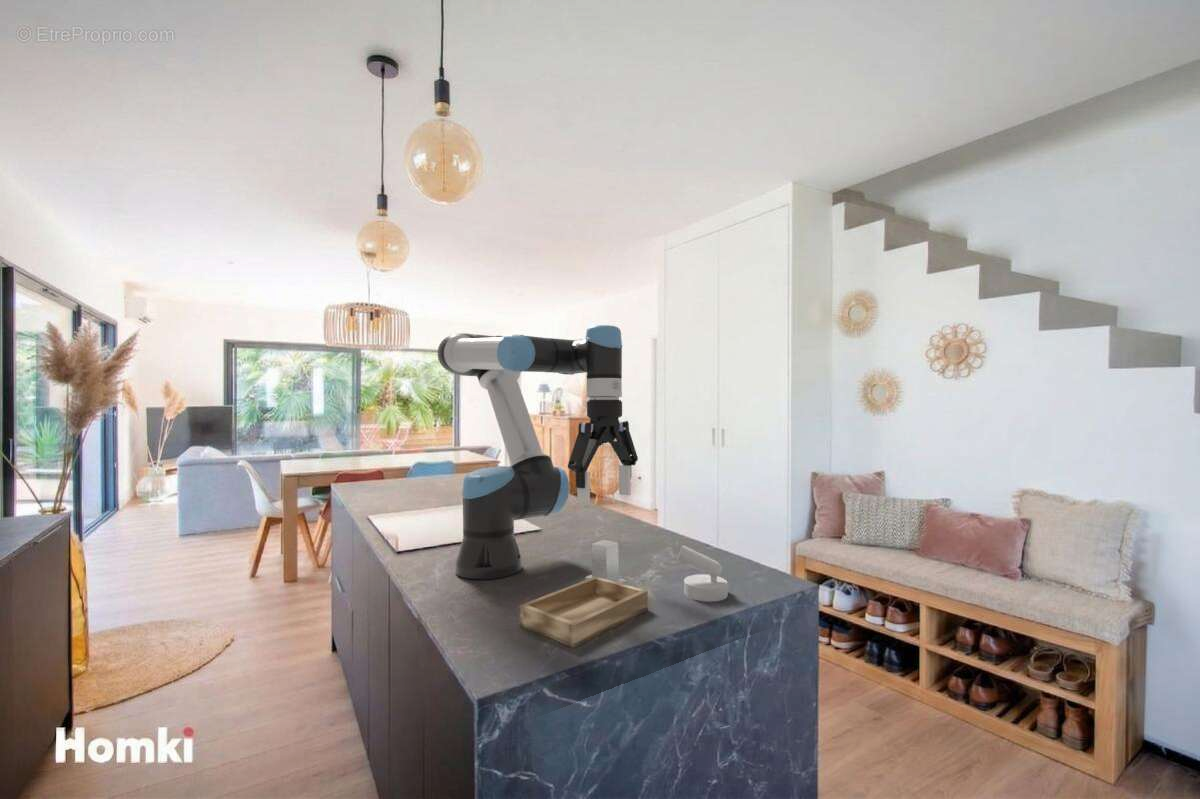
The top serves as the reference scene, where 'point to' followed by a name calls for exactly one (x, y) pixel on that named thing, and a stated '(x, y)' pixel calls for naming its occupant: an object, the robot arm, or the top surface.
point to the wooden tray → (583, 610)
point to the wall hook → (703, 577)
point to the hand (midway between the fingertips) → (605, 499)
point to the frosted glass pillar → (605, 561)
